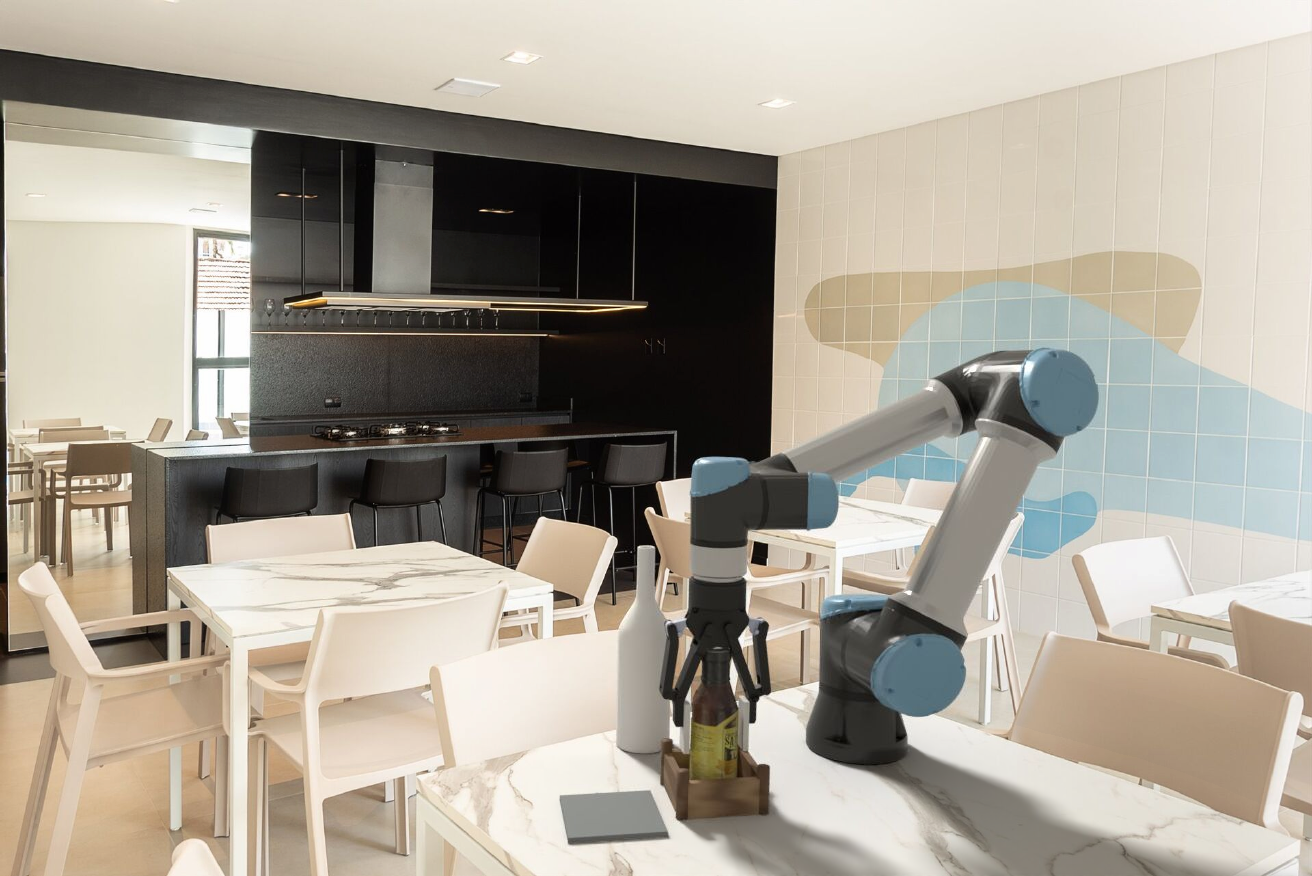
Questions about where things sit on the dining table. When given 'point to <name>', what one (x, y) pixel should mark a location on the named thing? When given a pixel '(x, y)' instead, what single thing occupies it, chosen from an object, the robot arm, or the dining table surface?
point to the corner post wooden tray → (714, 787)
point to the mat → (611, 816)
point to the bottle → (642, 666)
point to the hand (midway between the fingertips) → (713, 748)
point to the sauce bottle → (714, 720)
